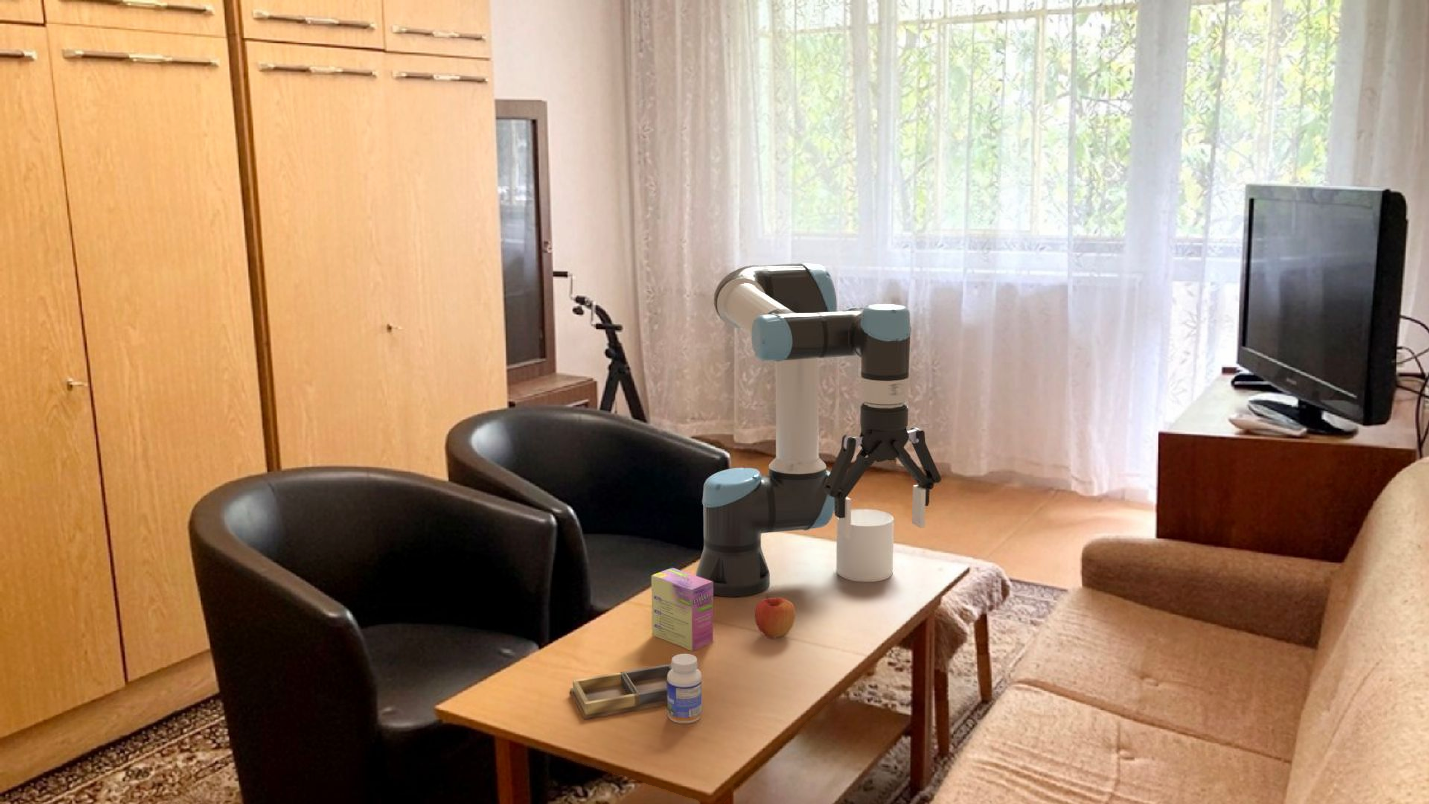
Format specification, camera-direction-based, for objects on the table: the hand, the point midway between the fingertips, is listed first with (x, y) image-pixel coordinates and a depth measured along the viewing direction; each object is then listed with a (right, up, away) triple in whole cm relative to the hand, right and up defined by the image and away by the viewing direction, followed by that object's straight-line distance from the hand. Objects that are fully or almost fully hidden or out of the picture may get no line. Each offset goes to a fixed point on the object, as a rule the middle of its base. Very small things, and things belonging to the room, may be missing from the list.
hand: (881, 530), depth 185 cm
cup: (+4, -15, +54) cm, 56 cm away
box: (-33, -22, +22) cm, 46 cm away
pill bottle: (-32, -29, -6) cm, 43 cm away
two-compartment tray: (-41, -27, +1) cm, 49 cm away
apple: (-16, -22, +23) cm, 36 cm away
